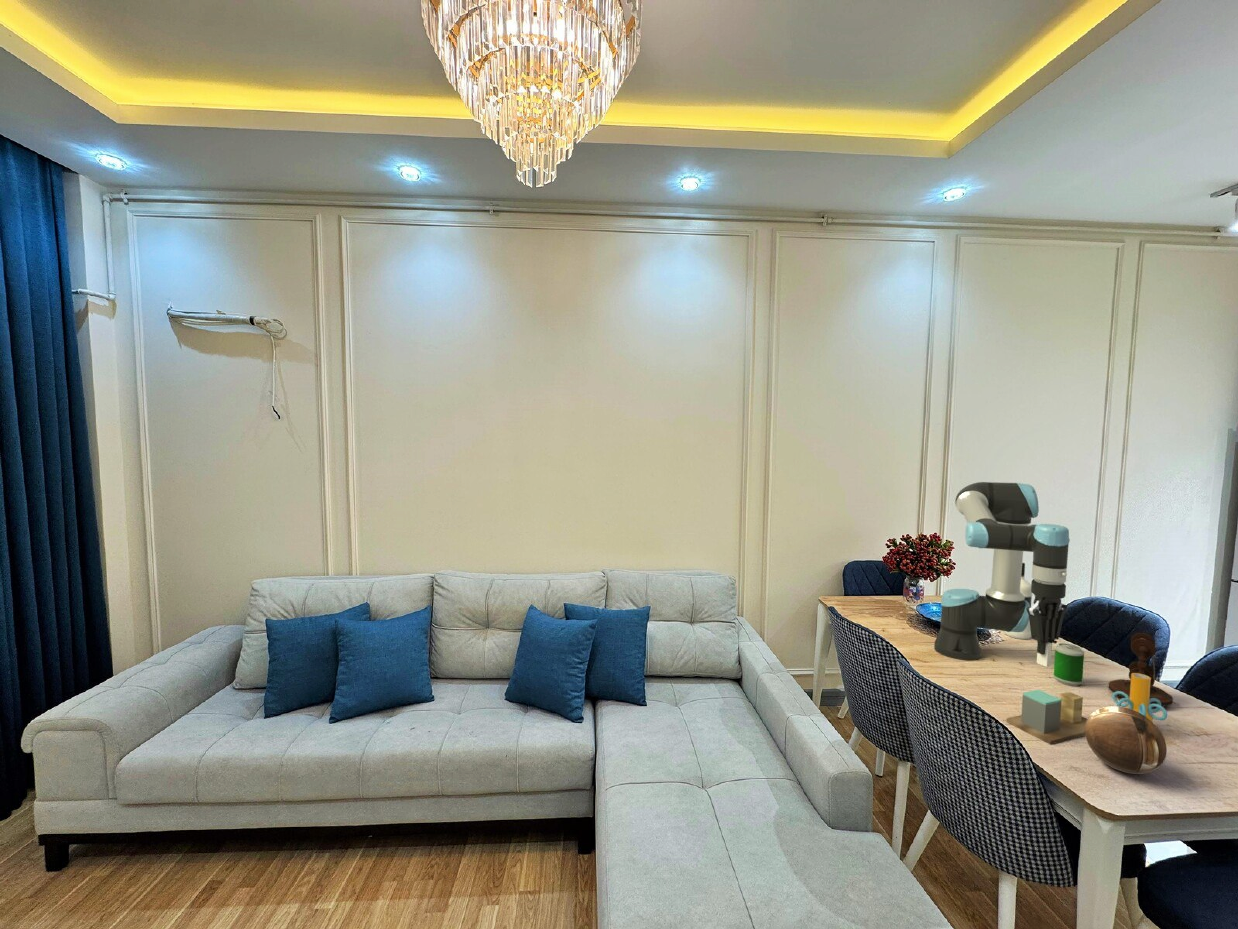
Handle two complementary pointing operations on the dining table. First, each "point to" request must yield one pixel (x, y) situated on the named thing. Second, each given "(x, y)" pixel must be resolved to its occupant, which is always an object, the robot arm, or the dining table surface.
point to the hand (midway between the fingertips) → (1043, 664)
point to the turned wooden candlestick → (1142, 670)
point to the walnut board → (1069, 721)
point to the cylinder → (1140, 697)
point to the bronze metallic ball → (1125, 740)
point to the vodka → (1026, 591)
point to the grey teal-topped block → (1041, 711)
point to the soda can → (1068, 664)
